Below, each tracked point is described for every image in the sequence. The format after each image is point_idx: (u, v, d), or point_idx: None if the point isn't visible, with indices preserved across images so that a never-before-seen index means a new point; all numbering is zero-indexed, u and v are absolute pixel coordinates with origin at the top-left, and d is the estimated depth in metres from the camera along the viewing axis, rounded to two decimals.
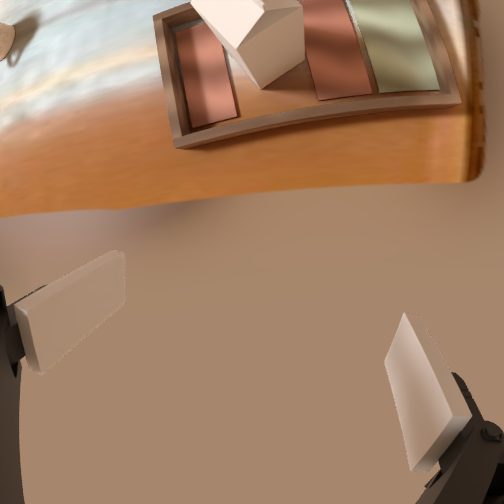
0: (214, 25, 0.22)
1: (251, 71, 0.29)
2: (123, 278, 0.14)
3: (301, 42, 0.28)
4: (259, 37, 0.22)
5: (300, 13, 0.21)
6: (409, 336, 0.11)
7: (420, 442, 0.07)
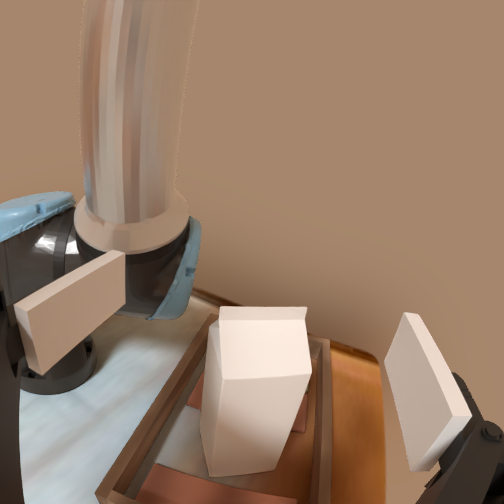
0: (273, 374, 0.23)
1: (291, 426, 0.26)
2: (123, 278, 0.14)
3: None
4: None
5: None
6: (409, 336, 0.11)
7: (420, 442, 0.07)
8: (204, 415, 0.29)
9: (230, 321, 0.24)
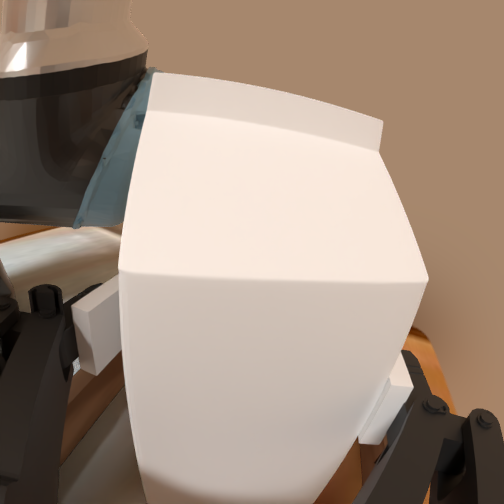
0: (323, 273, 0.06)
1: None
2: None
3: None
4: None
5: None
6: None
7: None
8: None
9: (179, 115, 0.07)
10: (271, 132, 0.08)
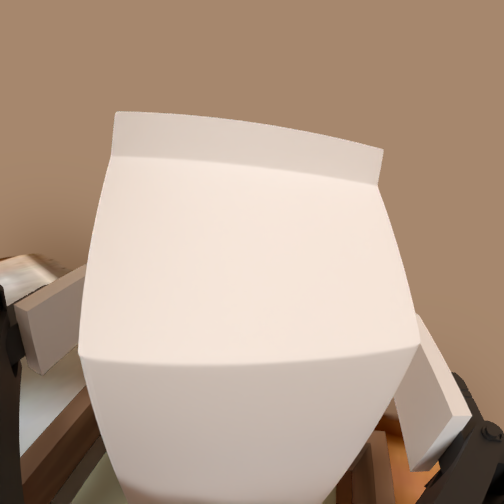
0: (296, 352, 0.06)
1: None
2: None
3: None
4: None
5: None
6: None
7: (420, 442, 0.07)
8: None
9: (145, 160, 0.07)
10: (250, 174, 0.07)
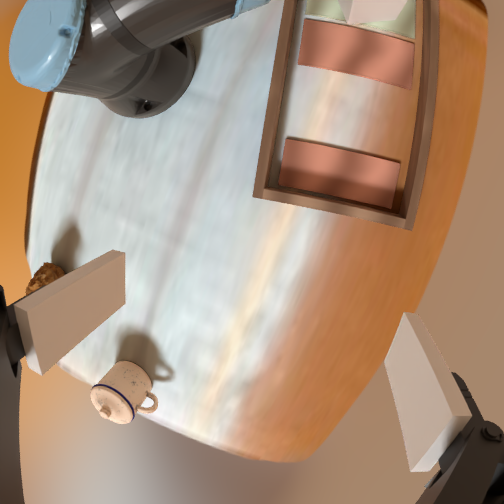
0: None
1: None
2: (123, 278, 0.14)
3: None
4: None
5: None
6: (409, 336, 0.11)
7: (420, 442, 0.07)
8: None
9: None
10: None
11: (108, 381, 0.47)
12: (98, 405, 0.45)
